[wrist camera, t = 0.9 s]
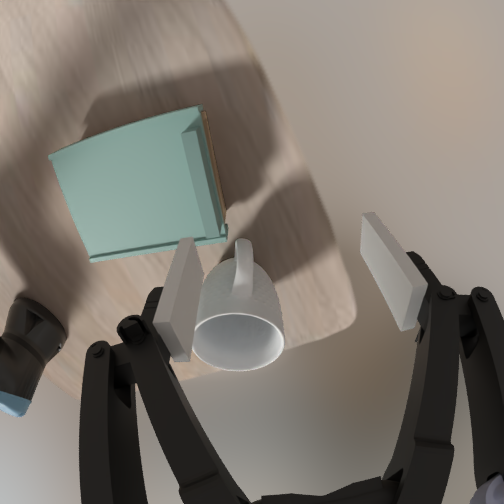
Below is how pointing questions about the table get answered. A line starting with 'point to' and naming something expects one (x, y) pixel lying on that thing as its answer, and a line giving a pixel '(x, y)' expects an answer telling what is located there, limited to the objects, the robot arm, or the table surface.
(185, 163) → the lid
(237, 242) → the mug
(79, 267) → the table surface
